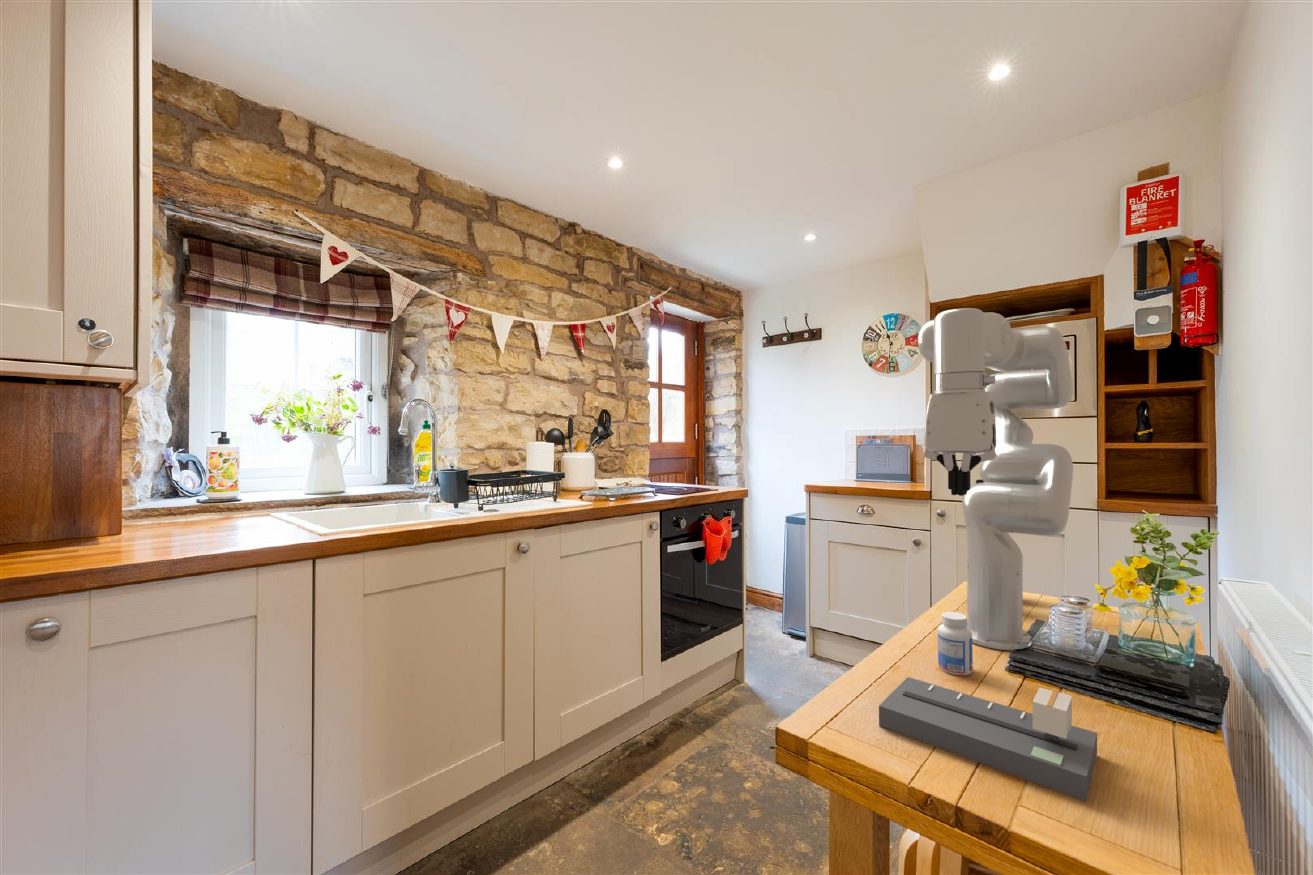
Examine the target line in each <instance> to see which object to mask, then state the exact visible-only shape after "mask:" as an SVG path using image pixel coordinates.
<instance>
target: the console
mask: <svg viewBox="0 0 1313 875" xmlns="http://www.w3.org/2000/svg"><path fill="white" fill-rule="evenodd" d="M878 726H879V727H881V728H884V729H887V730H890V731H893V732H895V733H897V734H899V735H902V736H906V737H908V738H910V739H914V740H916V741H919V742H923V743H925V744H927V745H930V746H933V747H936V748H938V749H940V750H944V751H947V752H949V753H952V754H954V755H958V756H960V757H962V758H965V759H968V760H971V761H974V762H976V763H979V764H982V765H984V766H986V767H987V766H988V767H991V768H993V769H996V770H998V771H1002V772H1004V773H1007V774H1009V775H1012V776H1015V777H1017V778H1019V779H1020V778H1021V779H1022V780H1026V781H1028V782H1031V783H1034V784H1036V785H1039V786H1041V787H1044V788H1047V789H1051V790H1053V791H1056V792H1058V793H1060V794H1064V795H1067V796H1069V797H1071V798H1075V799H1078V800H1080V801H1083V802H1085V803H1087V802H1088V798H1089V794H1090V793H1089V792H1090V788H1091V783H1092V779H1093V774H1094V770H1095V765H1096V761H1097V757H1098V732H1096V731H1093V730H1090V729H1085V728H1081V727H1078V726H1076V725H1072V724H1071V727H1070V730H1069V733H1068V736H1067V739H1065V738H1061V737H1060V738H1059V741H1055V740H1052V739H1049V738H1046V737H1045V732H1042V731H1039V730H1036V729H1033V712H1032V713H1031V712H1028V711H1024V710H1020V709H1018V708H1015V707H1011V706H1008V705H1004V704H1001V703H999V702H998V703H997V702H993V701H990V700H987V699H983V698H981V697H977V696H973V695H970V694H967V693H964V692H960V691H958V690H957V691H956V690H953V689H950V688H946V687H943V686H940V685H936V684H933V683H931V682H930V683H929V682H926V681H923V680H920V679H915V678H914V677H913V678H912V677H911V676H910V677H909V676H907V677H906V678H904V680H903V681H902V682H901V683H900V684H899V685H898V686H897V687H896V688H895V689H894V690H893V691H892V692H891V693H890V694H889V695H888V696H887V697H886V698H885V699H884V700H883V701H882V702H881V703H880V704H879V705H878Z"/></svg>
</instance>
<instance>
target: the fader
mask: <svg viewBox="0 0 1313 875" xmlns="http://www.w3.org/2000/svg"><path fill="white" fill-rule="evenodd" d="M1032 714H1033V729H1036V730H1039V731H1042V732H1045V737H1046V738H1049V739H1052V740H1055V741H1059V738H1060V737H1061V738H1065V739H1067V736H1068V733H1069V730H1070V727H1071V725H1072V723H1073V696H1072V695H1070V694H1067V693H1063V692H1059V691H1058V690H1050V689H1047V688H1044V687H1039V688H1038V690H1037V692H1036V694H1035V696H1034V698H1033V700H1032Z"/></svg>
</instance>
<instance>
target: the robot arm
mask: <svg viewBox="0 0 1313 875" xmlns="http://www.w3.org/2000/svg"><path fill="white" fill-rule="evenodd" d="M1064 338H1065V337H1064V336H1063V334H1062V332H1060V330H1058V329H1057V328H1056V327H1053V326H1043V327H1035V328H1025V329H1024V328H1023V329H1012V327H1011V324H1010V322H1009V321H1008V320H1007V319H1006V318H1005V317H1004V316H1003V315H1002V314H1000V313H996V312H993V311H992V312H983V310H981V309H979V308H974V307H973V308H972V307H963V308H960V307H959V308H954V309H953V308H952V309H947V310H944V311H941V312H939V313H938V314H937V315H936V316H935V318H934V319H931V320H929V321H927V322H925V323H924V324H923V325H922V327H921V328H920V329H919V332H918V336H917V345H918V346H917V348H918V349H919V352H920V354H921V356H922V357H923V358H924V359H925V361H927V362H928V363H932V364H933V393H930V394H929V396H928V401H927V405H926V406H927V407H926V413H925V423H924V433H923V434H924V435H923V436H924V438H923V442H924V447H925V450H924V454H923V456H924V458H926V459H930V460H933V461H937V462H938V463H939V464H941V465H942V466H943V467H944V469H945V470H946V471H947V487H948V490H950V492H951V496H957V495H958V496H959V497H960V496H962V498H961V500H962V502H961V505H962V512H963V518H964V524H965V530H966V542H967V545H966V547H967V560H966V561H967V562H966V564H967V567H966V569H967V584H966V585H967V588H966V590H967V599H966V600H967V602H966V604H967V626H966V627H967V628H969V629H970V630H971V632H972V644H975V645H978V646H981V647H986V648H989V649H994V650H1003V651H1015V650H1014V648H1015V647H1017V646H1019V645H1020V643H1022V642H1029V639H1030V638H1032V636H1031V635H1030V634H1028V633H1027V632H1026V631H1024V630H1023V627H1024V626H1023V625H1024V620H1023V618H1024V617H1023V615H1024V614H1023V613H1024V610H1023V609H1024V605H1023V604H1024V599H1023V598H1024V597H1023V596H1024V592H1023V591H1024V588H1023V587H1024V585H1023V582H1024V581H1023V580H1024V558H1023V557H1024V556H1023V553H1022V550H1021V549H1020V546H1019V545H1018V544H1017V542H1016V541H1015V540H1014V538H1013V537H1011V535H1010V534H1009V533H1019V534H1027V535H1037V536H1038V535H1039V536H1049V537H1052V536H1054V537H1055V536H1058V535H1060V534H1061V533H1063V531H1065V528H1066V527H1067V524H1068V518H1069V512H1070V504H1071V496H1072V487H1073V479H1074V464H1073V463H1074V462H1073V458H1072V456H1071V453H1070V452H1069V451H1068V449H1067V448H1065V447H1064V446H1062V445H1058V444H1055V443H1054V444H1053V443H1033V440H1034V432H1033V429H1032V428H1031V426H1029V424H1028V423H1027V422H1026V421H1025V420H1024V419H1023V418H1021V417H1020V416H1019V415H1017V414H1016V413H1014V410H1051V409H1052V410H1053V409H1061V408H1064V407H1065V406H1067V404H1069V403H1070V402H1071V400H1072V397H1073V390H1074V386H1073V378H1072V371H1071V366H1070V359H1069V353H1068V347H1067V344H1066V340H1065V339H1064ZM986 369H989V370H992V371H995V372H997V373H992V374H987V372H986ZM1012 410H1013V412H1012ZM956 453H957V454H958V453H959V454H962V459H961V465H960V467H959V466H958V460H957V454H956ZM980 453H981V454H980ZM977 465H979V476H980V478H981V480H983V481H984V483H977V484H976V483H973V484H971V471H972V470H973V469H975V467H977Z"/></svg>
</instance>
